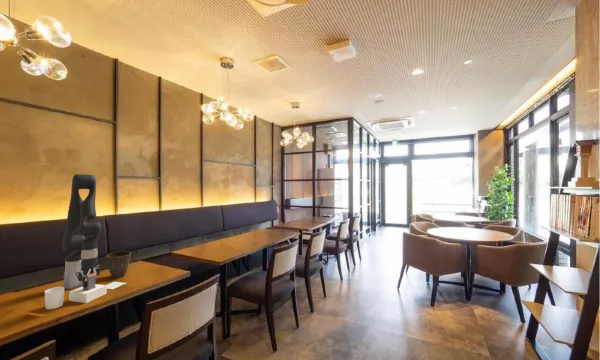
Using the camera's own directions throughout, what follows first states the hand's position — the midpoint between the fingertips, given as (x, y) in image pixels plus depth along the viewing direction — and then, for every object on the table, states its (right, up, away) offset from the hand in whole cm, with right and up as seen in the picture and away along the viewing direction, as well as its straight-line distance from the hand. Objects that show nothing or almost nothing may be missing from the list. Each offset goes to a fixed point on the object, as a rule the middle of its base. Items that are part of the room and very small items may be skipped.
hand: (89, 285), depth 149 cm
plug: (0, -6, 0) cm, 6 cm away
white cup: (-10, -8, -11) cm, 17 cm away
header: (0, -8, 0) cm, 8 cm away
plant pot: (-8, -8, +35) cm, 37 cm away
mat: (+2, -8, +17) cm, 19 cm away
